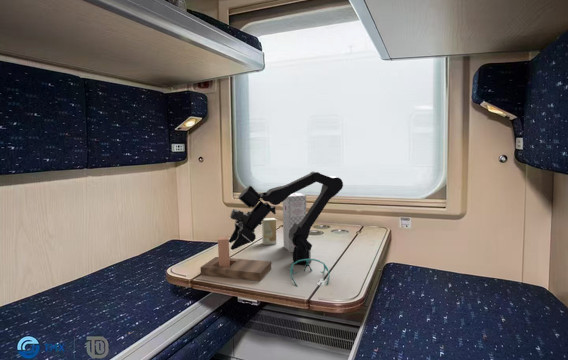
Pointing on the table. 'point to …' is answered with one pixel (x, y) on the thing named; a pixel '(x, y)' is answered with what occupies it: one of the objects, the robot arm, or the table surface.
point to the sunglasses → (309, 267)
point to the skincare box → (269, 231)
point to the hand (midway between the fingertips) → (230, 245)
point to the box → (292, 215)
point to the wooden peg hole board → (237, 269)
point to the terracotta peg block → (223, 251)
